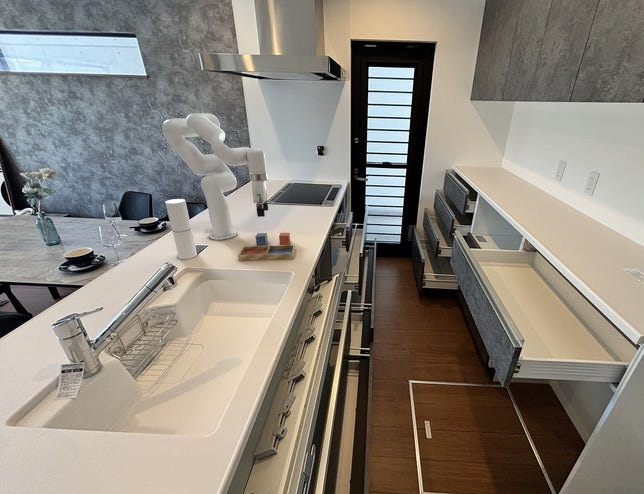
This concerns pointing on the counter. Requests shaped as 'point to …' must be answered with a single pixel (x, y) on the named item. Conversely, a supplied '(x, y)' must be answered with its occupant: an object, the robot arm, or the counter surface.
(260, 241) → the blue block
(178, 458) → the counter surface
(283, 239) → the red block
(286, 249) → the tray
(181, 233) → the cylindrical container
